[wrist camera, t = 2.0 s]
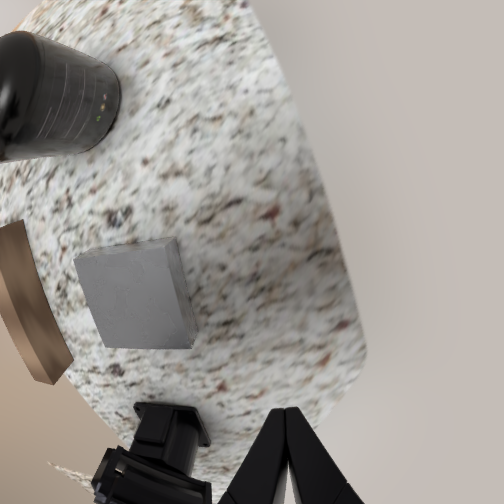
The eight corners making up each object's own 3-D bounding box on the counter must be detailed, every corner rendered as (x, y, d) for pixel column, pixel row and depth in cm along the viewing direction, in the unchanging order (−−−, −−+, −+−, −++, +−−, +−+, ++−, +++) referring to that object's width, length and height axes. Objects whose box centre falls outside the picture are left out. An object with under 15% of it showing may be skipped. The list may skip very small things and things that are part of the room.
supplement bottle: (42, 149, 16) (-90, 170, 4) (64, 63, 13) (-59, 35, 2) (109, 162, 16) (-52, 190, 4) (137, 63, 14) (1, -8, 2)
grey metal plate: (199, 328, 20) (191, 349, 17) (118, 329, 20) (105, 347, 18) (177, 235, 18) (164, 246, 15) (92, 247, 18) (73, 259, 16)
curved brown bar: (73, 360, 22) (53, 385, 18) (54, 357, 22) (34, 380, 18) (22, 219, 17) (-10, 232, 14) (6, 225, 18) (-25, 237, 14)
